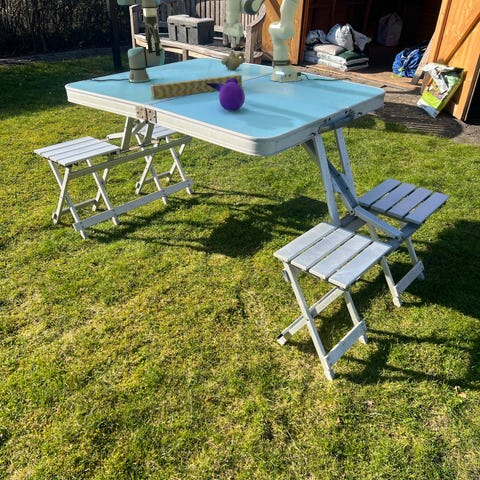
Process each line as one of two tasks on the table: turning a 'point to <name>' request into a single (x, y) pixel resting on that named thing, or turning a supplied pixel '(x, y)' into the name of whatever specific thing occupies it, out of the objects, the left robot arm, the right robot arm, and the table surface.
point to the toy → (230, 94)
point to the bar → (189, 87)
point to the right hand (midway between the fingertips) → (234, 43)
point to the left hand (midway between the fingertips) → (154, 54)
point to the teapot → (233, 61)
